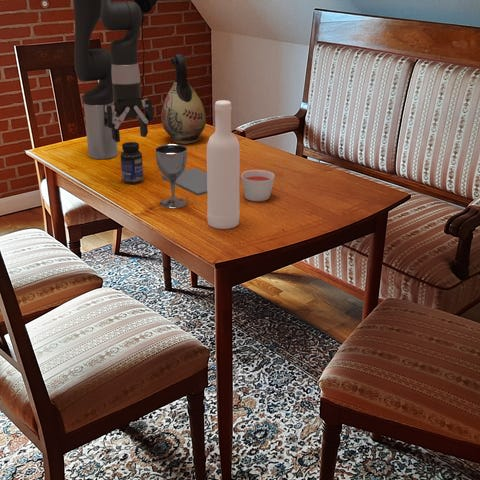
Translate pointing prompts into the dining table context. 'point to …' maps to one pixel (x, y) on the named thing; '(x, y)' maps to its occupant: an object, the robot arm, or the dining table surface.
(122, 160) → the pill bottle
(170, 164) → the wine glass
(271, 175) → the candle
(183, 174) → the place mat
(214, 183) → the bottle
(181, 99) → the ceramic jug
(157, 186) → the dining table surface
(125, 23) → the robot arm
